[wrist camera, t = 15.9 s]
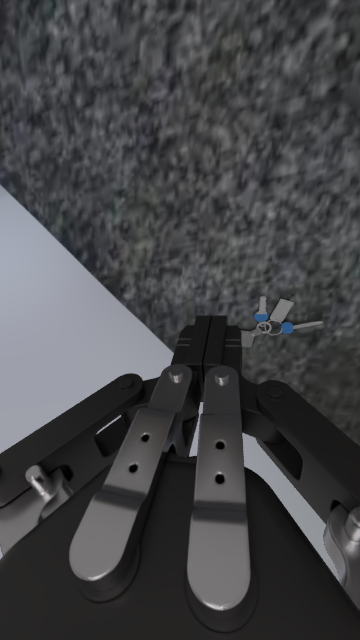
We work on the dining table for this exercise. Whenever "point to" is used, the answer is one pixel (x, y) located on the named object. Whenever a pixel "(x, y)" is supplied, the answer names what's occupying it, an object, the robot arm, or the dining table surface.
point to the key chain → (277, 314)
